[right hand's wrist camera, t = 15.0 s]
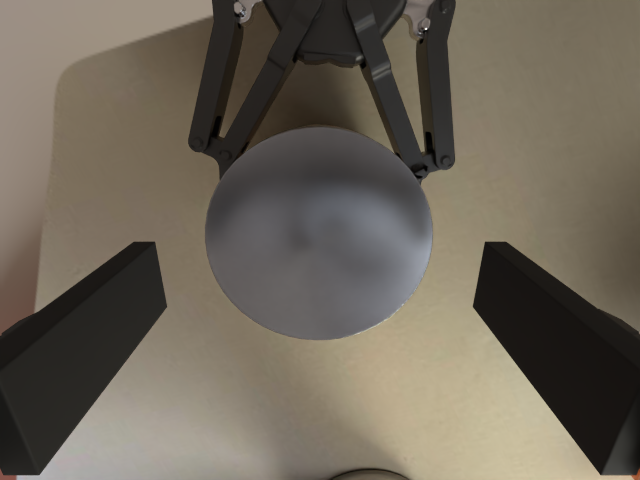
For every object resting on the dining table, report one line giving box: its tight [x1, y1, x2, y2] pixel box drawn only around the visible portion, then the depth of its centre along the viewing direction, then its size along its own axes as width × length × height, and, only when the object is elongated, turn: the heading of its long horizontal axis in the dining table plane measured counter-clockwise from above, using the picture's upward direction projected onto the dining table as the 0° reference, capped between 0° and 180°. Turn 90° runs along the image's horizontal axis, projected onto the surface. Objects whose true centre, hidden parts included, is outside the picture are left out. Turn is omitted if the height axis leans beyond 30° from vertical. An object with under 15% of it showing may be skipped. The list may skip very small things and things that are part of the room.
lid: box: [205, 125, 433, 340], centre depth 17 cm, size 11×11×2 cm
